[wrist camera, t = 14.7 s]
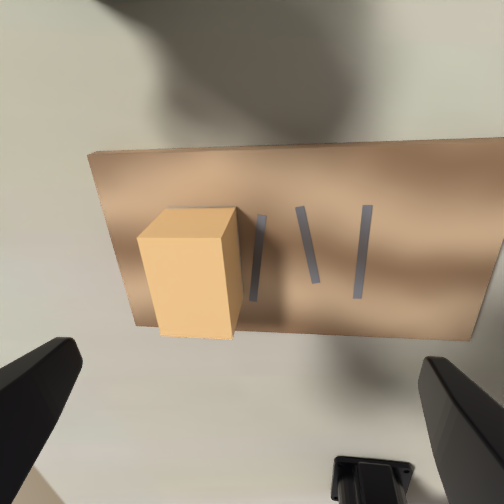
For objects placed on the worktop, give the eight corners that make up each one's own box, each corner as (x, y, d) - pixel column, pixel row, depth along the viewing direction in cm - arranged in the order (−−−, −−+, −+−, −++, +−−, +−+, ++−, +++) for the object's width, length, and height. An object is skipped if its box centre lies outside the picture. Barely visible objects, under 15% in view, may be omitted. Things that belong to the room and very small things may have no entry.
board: (462, 330, 21) (469, 341, 21) (141, 316, 25) (135, 326, 24) (523, 136, 16) (537, 140, 15) (96, 151, 19) (86, 155, 18)
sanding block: (243, 295, 21) (232, 339, 18) (183, 293, 22) (161, 336, 18) (236, 206, 18) (221, 237, 15) (167, 206, 19) (136, 237, 15)
